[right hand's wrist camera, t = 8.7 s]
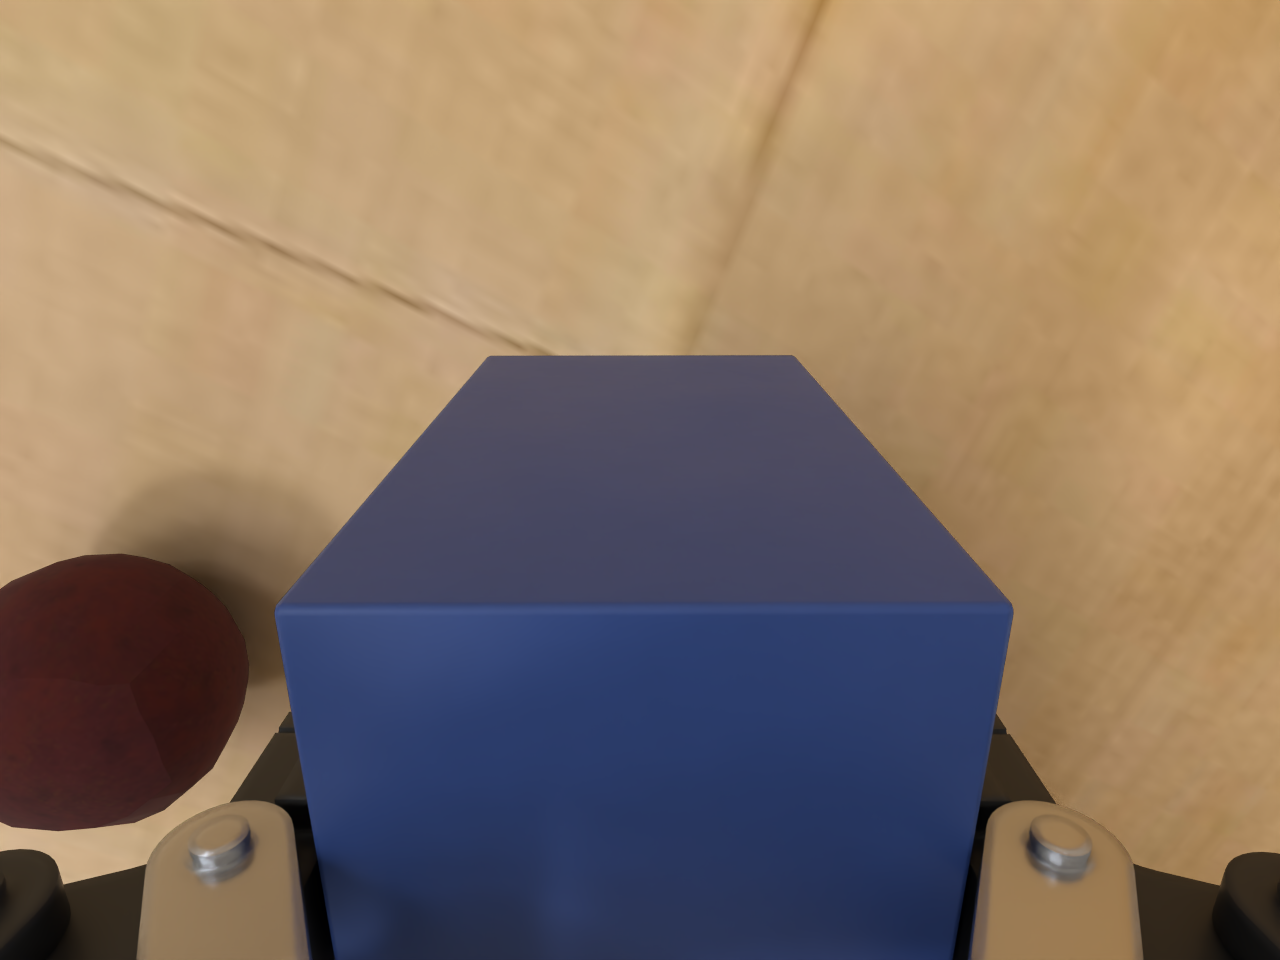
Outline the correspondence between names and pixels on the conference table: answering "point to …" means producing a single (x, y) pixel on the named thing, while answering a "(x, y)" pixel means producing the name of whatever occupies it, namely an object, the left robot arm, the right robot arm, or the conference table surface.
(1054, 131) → the conference table surface
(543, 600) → the box
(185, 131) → the conference table surface
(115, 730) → the dark red ball
